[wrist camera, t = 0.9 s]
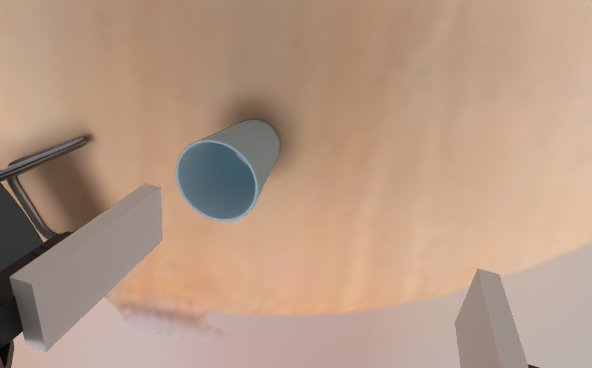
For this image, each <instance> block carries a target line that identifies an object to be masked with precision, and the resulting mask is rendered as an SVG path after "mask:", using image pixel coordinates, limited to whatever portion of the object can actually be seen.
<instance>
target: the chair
mask: <svg viewBox="0 0 592 368" xmlns="http://www.w3.org/2000/svg"><path fill="white" fill-rule="evenodd" d="M86 142H87V141H86V139H85V138H84V137H78V138H75V139H73V140H70V141H67V142H64V143H62V144H59V145H56V146H54V147H51V148H48V149H45V150H43V151H40V152H37V153H34V154H32V155H29V156H26V157H24V158H21V159H18V160H15V161H13V162H12V163H10V164H9V166H8V167H7V168H4V169H2V170H0V182H1V181H4V180H6V179H7V181H8V184H9V186H10V188H11V189H12V191H13V192H14V194H15V196H16V197H17V199H18V200H19V202H20V203H21V205H22V206H23V208H24V210H25V211H26V213H27V214H28V216H29V217H30V219H31V221H32V222H33V224H34V225H35V227H36V228H37V230H38V231H39V232H40V233H41V234H42V235H43V236H44V237H45V238H47V239H48V240H49V239H50V238H52V237H54V236H57V235H56V234H54V233H52V232H51V231H50V230H48V229H47V227H46V226H45V225H44V223H43V222H42V220H41V219H40V217H39V215H38V214H37V212H36V211H35V209H34V207H33V206H32V204H31V203H30V201H29V200H28V198H27V196H26V195H25V193H24V192H23V190H22V188H21V187H20V185H19V183H18V182H17V179H16V176H17V175H19V174H22V173H24V172H26V171H29V170H31V169H33V168H36V167H38V166H40V165H42V164H44V163H47V162H49V161H51V160H53V159H56V158H58V157H60V156H62V155H64V154H67V153H69V152H71V151H73V150H75V149H78V148H80V147H82V146H84V145H85V144H86ZM73 233H74V232H73ZM42 243H43V241H42V240H41V238H40V236H39V235H38V233H37V231H36V230H35V228H34V226H33V225H32V223H31V222H30V220H29V219H28V217H27V216H26V214H25V213H24V212H23V210H22V209H21V207H20V206H19V205H18V204H17V202H16V201H15V200H14V198H13V197H12V196H11V195H10V193H9V192H8V191H7V190H6V189H5V188H4V186H3V185H2V184H1V183H0V271H2V270H3V269H5V268H6V267H8V266H9V265H11V264H12V263H14V262H15V261H17V260H18V259H20V258H21V257H23V256H24V255H26V254H29V252H30V251H32V250H33V249H35V248H36V247H39V245H41V244H42Z"/></svg>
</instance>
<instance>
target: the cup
mask: <svg viewBox="0 0 592 368" xmlns="http://www.w3.org/2000/svg"><path fill="white" fill-rule="evenodd" d="M279 153H280V140H279V138H278V135H277V133H276V132H275V130H274V129H273V128H272V127H271V126H270V125H268V124H267V123H265V122H263V121H260V120H247V121H244V122H241V123H239V124H236V125H234V126H232V127H229V128H227V129H225V130H222V131H220V132H218V133H215V134H213V135H210V136H208V137H205V138H203V139H201V140H198V141H196V142H194V143H192V144H190V145H189V146H187V147H186V148H185V149H184V150H183V151H182V153H181V154H180V156H179V158H178V160H177V164H176V181H177V185H178V188H179V190H180V192H181V194H182V196H183V197H184V199H185V200H186V201H187V203H188V204H189V205H190V206H191V207H192V208H193V209H194V210H196V211H197V212H198V213H200V214H202V215H203V216H205V217H207V218H210V219H213V220H218V221H233V220H237V219H239V218H241V217H243V216H245V215H246V214H247V213H248V212H249V211H250V210H251V209H252V208H253V206H254V205H255V203H256V201H257V199H258V197H259V195H260V193H261V190H262V188H263V186H264V184H265V182H266V180H267V178H268V176H269V174H270V172H271V170H272V168H273V166H274V164H275V162H276V160H277V158H278V156H279Z"/></svg>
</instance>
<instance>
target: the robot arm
mask: <svg viewBox="0 0 592 368" xmlns="http://www.w3.org/2000/svg"><path fill="white" fill-rule="evenodd" d="M161 241H162V209H161V187H157V186H153V185H149V184H144V185H142V186H141V187H139V188H138V189H136V190H135V191H133V192H132V193H131V194H129V195H128V196H126V197H125V198H123V199H122V200H120V201H119V202H117V203H116V204H115V205H113V206H112V207H110V208H109V209H107V210H106V211H104V212H103V213H101V214H100V215H99V216H97V217H96V218H94V219H93V220H91V221H90V222H88V223H87V224H86V225H84V226H83V227H81V228H80V229H78V230H77V231H75V232H74V233H71V232H65V233H62V234H60V235H57V236H54V237H52V238H50V239H49V240H47V241H46V242H44V243H42V244H41V245H39V247H36V248H35V249H33V250H32V251H30V252H29V254H26V255H24V256H23V257H21V258H20V259H18V260H17V261H15V262H14V263H12V264H11V265H9V266H8V267H6V268H5V269H3V270H2V271H0V368H11V365H12V358H13V352H14V342H13V339H14V338H15V337H16V336H18V335H19V334H20V333H21V332H22V331H23V335H24V339H25V343H26V345H28V346H32V347H34V348H37V349H39V350H42V351H45V352H47V351H48V350H49V349H50V348H51V347H52V346H53V345H54V344H55V343H56V342H57V341H58V340H59V339H60V338H61V337H62V336H63V335H64V334H65V333H66V332H68V331H69V330H70V329H71V328H72V327H73V326H74V325H75V324H76V323H77V322H78V321H79V320H80V319H81V318H82V317H83V316H84V315H85V314H86V313H87V312H88V311H89V310H90V309H91V308H92V307H93V306H94V305H96V304H97V303H98V301H100V300H101V299H102V298H103V297H104V296H105V295H106V294H107V293H108V292H109V291H110V290H111V289H112V288H113V287H114V286H115V285H116V284H117V283H118V282H119V281H120V280H122V279H123V278H124V277H125V276H126V275H127V274H128V273H129V272H130V271H131V270H132V269H133V268H134V267H135V266H136V265H137V264H138V263H139V262H140V261H141V260H142V259H143V258H144V257H145V256H146V255H147V254H148V253H150V252H151V251H152V250H153V249H154V248H155V247H156V246H157V245H158V244H159V243H160V242H161ZM455 327H456V335H457V343H458V350H459V357H460V365H461V368H538V367H535V366H531V365H528V364H527V361H526V358H525V354H524V351H523V348H522V345H521V342H520V339H519V335H518V332H517V329H516V326H515V323H514V320H513V316H512V313H511V310H510V307H509V304H508V301H507V297H506V294H505V291H504V288H503V285H502V282H501V278H500V275H499V274H496V273H492V272H489V271H485V270H481V269H477V271H476V274H475V276H474V279H473V281H472V283H471V286H470V288H469V291H468V293H467V295H466V298H465V300H464V302H463V305H462V307H461V309H460V312H459V314H458V316H457V319H456V321H455Z"/></svg>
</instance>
